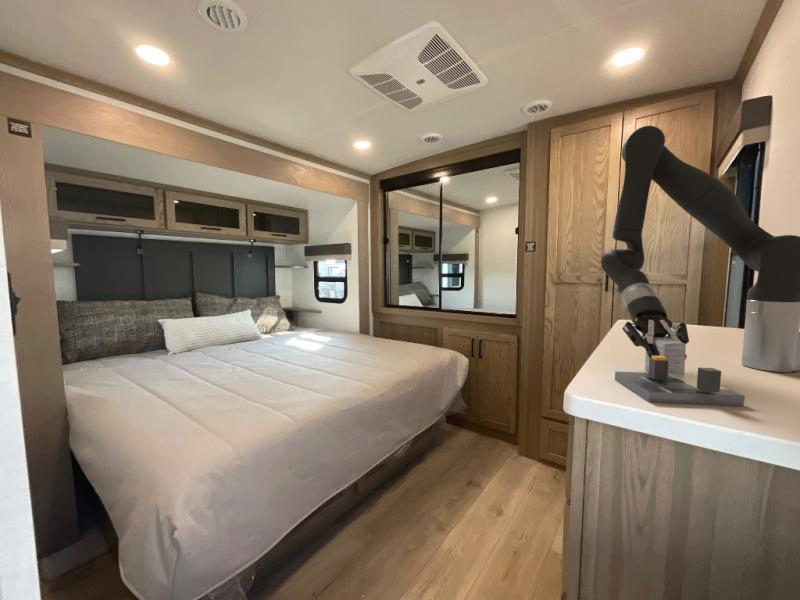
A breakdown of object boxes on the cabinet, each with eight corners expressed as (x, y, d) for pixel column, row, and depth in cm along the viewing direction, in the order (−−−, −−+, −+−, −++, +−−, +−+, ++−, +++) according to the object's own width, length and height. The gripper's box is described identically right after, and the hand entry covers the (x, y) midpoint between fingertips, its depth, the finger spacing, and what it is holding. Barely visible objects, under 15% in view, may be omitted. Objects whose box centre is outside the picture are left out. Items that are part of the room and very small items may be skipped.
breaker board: (692, 382, 74) (693, 373, 74) (743, 406, 61) (744, 395, 61) (614, 379, 76) (615, 371, 76) (648, 402, 63) (649, 391, 63)
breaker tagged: (661, 376, 71) (662, 355, 70) (667, 379, 69) (668, 358, 68) (648, 376, 71) (649, 355, 71) (654, 379, 69) (655, 357, 69)
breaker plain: (711, 388, 64) (712, 368, 63) (719, 392, 62) (721, 371, 61) (696, 387, 64) (698, 367, 64) (704, 391, 62) (706, 370, 62)
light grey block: (684, 381, 75) (687, 343, 74) (662, 380, 76) (664, 342, 75) (664, 371, 82) (666, 336, 82) (644, 370, 83) (646, 336, 83)
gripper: (618, 294, 86) (643, 351, 75) (680, 294, 84) (714, 353, 73) (608, 312, 92) (629, 367, 81) (665, 313, 89) (694, 369, 79)
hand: (669, 360), depth 77 cm, fingers closed on light grey block, 4 cm apart
